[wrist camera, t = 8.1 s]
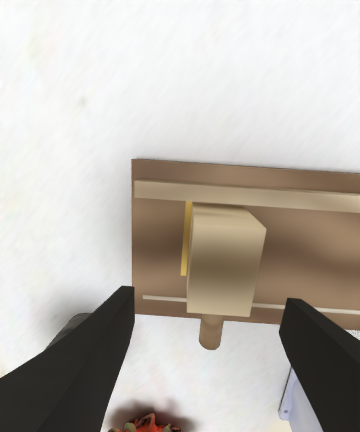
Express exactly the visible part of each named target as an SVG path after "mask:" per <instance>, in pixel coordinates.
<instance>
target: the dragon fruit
mask: <svg viewBox="0 0 360 432" xmlns="http://www.w3.org/2000/svg"><path fill="white" fill-rule="evenodd" d="M148 418H149V419H148ZM146 419H148V420H147V422H146V423H145V424H143V422H144V421H145V420H146ZM142 424H143V425H142ZM172 429H174V430H173V431H172ZM181 431H182V430H181V429H180V428H177V427H171V424H168V425H167V426H166V425H159V426H156V425H155V415H154V413H150V414H148V415H146V416H144V417H142V418H141V419H140V421H138V420H137V419H132V420H130V421H129V423H125V424H124V427H123V429H122V431H121V430H119V429H117V428H112V429H110V430H109V431H108V432H181ZM182 432H183V431H182Z"/></svg>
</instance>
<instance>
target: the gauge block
mask: <svg viewBox="0 0 360 432" xmlns="http://www.w3.org/2000/svg"><path fill="white" fill-rule="evenodd" d="M266 230H267V229H266V228H265V227H264V226H263V225H262V224H261V223H260V222H259V221H258V220H257V219H256V218H255V217H254V216H253V215H252V214H251V213H250V212H249V211H248V210H247V209H246V208H244V207H243V206H229V205H214V204H200V203H192V212H191V224H190V236H189V249H188V261H187V313H201V314H202V317H201V325H200V334H199V342H200V344H201V345H202V346H203V347H204V348H205V349H208V350H215V349H217V348H218V347H219V346H220V341H221V335H222V328H223V322H224V315H228V316H242V317H250V312H251V306H252V301H253V296H254V291H255V286H256V281H257V276H258V271H259V265H260V260H261V255H262V250H263V245H264V240H265V235H266Z"/></svg>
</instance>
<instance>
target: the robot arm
mask: <svg viewBox="0 0 360 432" xmlns="http://www.w3.org/2000/svg"><path fill="white" fill-rule="evenodd" d="M134 322H135V287H131V286H121V287H120V288H119V289H118V290H117V291H115V292H114V293H113V294H112V295H111V296H110V297H109V298H108V299H107V300H106V301H105V302H104V303H103V304H102V305H101V306H100V307H99V308H97V309H96V310H95V311H94V312H93V313H92V314H91V315H90V316H89V317H87V318H86V319H85V320H84V321H83V322H81V323H80V324H79V325H78V326H77V327H75V328H74V329H73V330H72V331H70V332H69V333H68V334H67V335H65V336H64V337H63V338H61V339H60V340H59V341H57V342H56V343H55V344H53V345H52V346H50V347H49V348H47V349H46V350H45V351H43V352H42V353H40V354H39V355H37V356H35V357H34V358H32V359H31V360H29V361H27V362H26V363H24V364H23V365H21V366H19V367H18V368H16V369H15V370H13V371H12V372H10V373H8V374H6V375H5V376H3V377H1V378H0V432H100V430H101V427H102V423H103V419H104V416H105V412H106V409H107V406H108V403H109V400H110V397H111V394H112V391H113V389H114V386H115V383H116V380H117V377H118V375H119V372H120V369H121V366H122V363H123V361H124V358H125V355H126V352H127V349H128V346H129V343H130V339H131V335H132V331H133V327H134ZM279 335H280V338H281V341H282V344H283V347H284V350H285V352H286V355H287V357H288V359H289V362H290V364H291V366H292V370H291V373H290V377H289V380H288V383H287V387H286V390H285V394H284V397H283V400H282V404H281V407H280V411H279V417H280V419H282V420H288V421H289V423H290V426H291V428H292V431H293V432H360V340H358V339H357V338H355V337H354V336H352V335H351V334H350V333H348V332H347V331H345V330H344V329H343V328H341V327H340V326H338V325H337V324H336V323H334V322H333V321H332V320H330V319H329V318H327V317H326V316H325V315H323V314H322V313H321V312H319V311H318V310H316V309H315V308H314V307H312V306H311V305H309V304H308V303H306V302H305V301H303V300H302V299H299V298H287V301H286V305H285V309H284V313H283V317H282V321H281V325H280V329H279Z"/></svg>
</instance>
